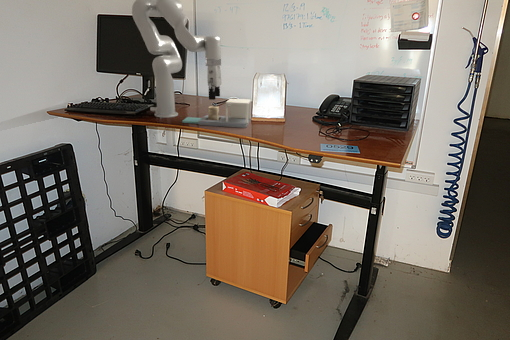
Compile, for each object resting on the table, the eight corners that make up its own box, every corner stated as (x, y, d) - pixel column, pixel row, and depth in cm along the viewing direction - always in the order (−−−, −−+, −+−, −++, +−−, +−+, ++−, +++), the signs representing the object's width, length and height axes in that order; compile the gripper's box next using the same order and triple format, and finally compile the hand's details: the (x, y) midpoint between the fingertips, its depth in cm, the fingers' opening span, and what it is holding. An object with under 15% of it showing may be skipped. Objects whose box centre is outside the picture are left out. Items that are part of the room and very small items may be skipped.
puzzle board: (198, 124, 191) (198, 121, 190) (205, 118, 204) (205, 114, 203) (245, 127, 188) (245, 123, 187) (250, 121, 201) (250, 117, 200)
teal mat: (182, 122, 194) (181, 121, 194) (187, 118, 203) (187, 117, 202) (199, 123, 193) (199, 122, 193) (203, 119, 202) (203, 118, 201)
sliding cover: (225, 121, 190) (225, 102, 187) (230, 117, 200) (230, 98, 196) (247, 122, 189) (247, 103, 185) (250, 118, 198) (251, 99, 195)
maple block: (208, 123, 195) (208, 107, 192) (210, 121, 199) (210, 106, 196) (216, 123, 194) (216, 108, 191) (218, 121, 198) (218, 106, 196)
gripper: (216, 64, 177) (217, 101, 183) (224, 61, 193) (225, 95, 199) (201, 64, 178) (202, 100, 184) (210, 61, 194) (211, 95, 200)
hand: (214, 97), depth 192 cm, fingers open, 9 cm apart
